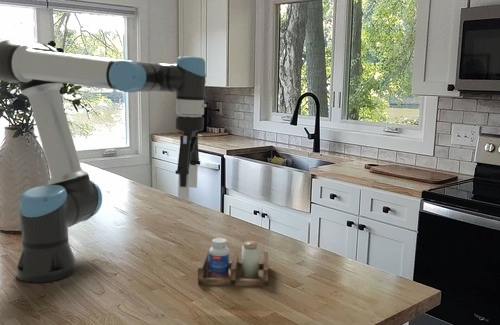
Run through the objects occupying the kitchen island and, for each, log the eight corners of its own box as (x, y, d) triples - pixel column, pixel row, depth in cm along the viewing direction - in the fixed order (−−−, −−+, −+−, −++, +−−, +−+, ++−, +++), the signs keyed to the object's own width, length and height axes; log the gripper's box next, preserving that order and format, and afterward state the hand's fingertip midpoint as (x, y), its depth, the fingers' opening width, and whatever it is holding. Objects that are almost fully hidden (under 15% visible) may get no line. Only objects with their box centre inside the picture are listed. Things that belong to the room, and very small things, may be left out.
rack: (197, 288, 125) (197, 268, 124) (204, 269, 138) (204, 250, 137) (267, 290, 124) (268, 269, 123) (267, 271, 137) (268, 252, 136)
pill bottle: (210, 279, 128) (210, 244, 126) (206, 272, 133) (207, 237, 131) (230, 277, 129) (231, 242, 127) (226, 270, 134) (226, 236, 133)
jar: (241, 278, 128) (241, 245, 127) (241, 272, 133) (242, 240, 131) (258, 279, 128) (259, 246, 127) (258, 272, 133) (259, 240, 131)
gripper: (196, 119, 118) (194, 204, 121) (210, 113, 142) (207, 183, 146) (166, 118, 118) (164, 202, 121) (184, 111, 143) (182, 182, 146)
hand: (188, 192), depth 134 cm, fingers open, 13 cm apart
